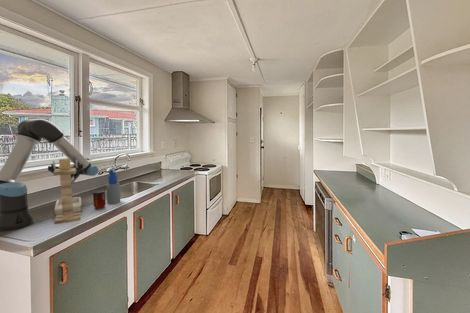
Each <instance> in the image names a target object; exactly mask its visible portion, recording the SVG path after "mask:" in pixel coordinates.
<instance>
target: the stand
mask: <svg viewBox="0 0 470 313" xmlns="http://www.w3.org/2000/svg"><path fill="white" fill-rule="evenodd" d="M70 168H71V167H70ZM71 174H76V168H71V169H70V170H60V169H55V170H54V174H53V176H55V177H57V176H59V181H60V183H59V184H60V197H61V199H62V215H56V216H55V219H54V224H55V225H58V224H63V223H64V222H65V223H69V222H74V221H75V222H77V221H80V220H81V219H82V218H81V212H75V213H73V201H72V198H73V188H72V186H73V185H71Z"/></svg>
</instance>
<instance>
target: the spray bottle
mask: <svg viewBox="0 0 470 313" xmlns="http://www.w3.org/2000/svg"><path fill="white" fill-rule="evenodd" d="M107 177H108V178H107V180H108V183H106V185H105V186H106V187H105V192H106V203H107V205H115V204H116V205H117V204H120V203H121V184H120V182H118V175H117V172H116V169H114V168H113V169H109V174H108V176H107Z"/></svg>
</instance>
